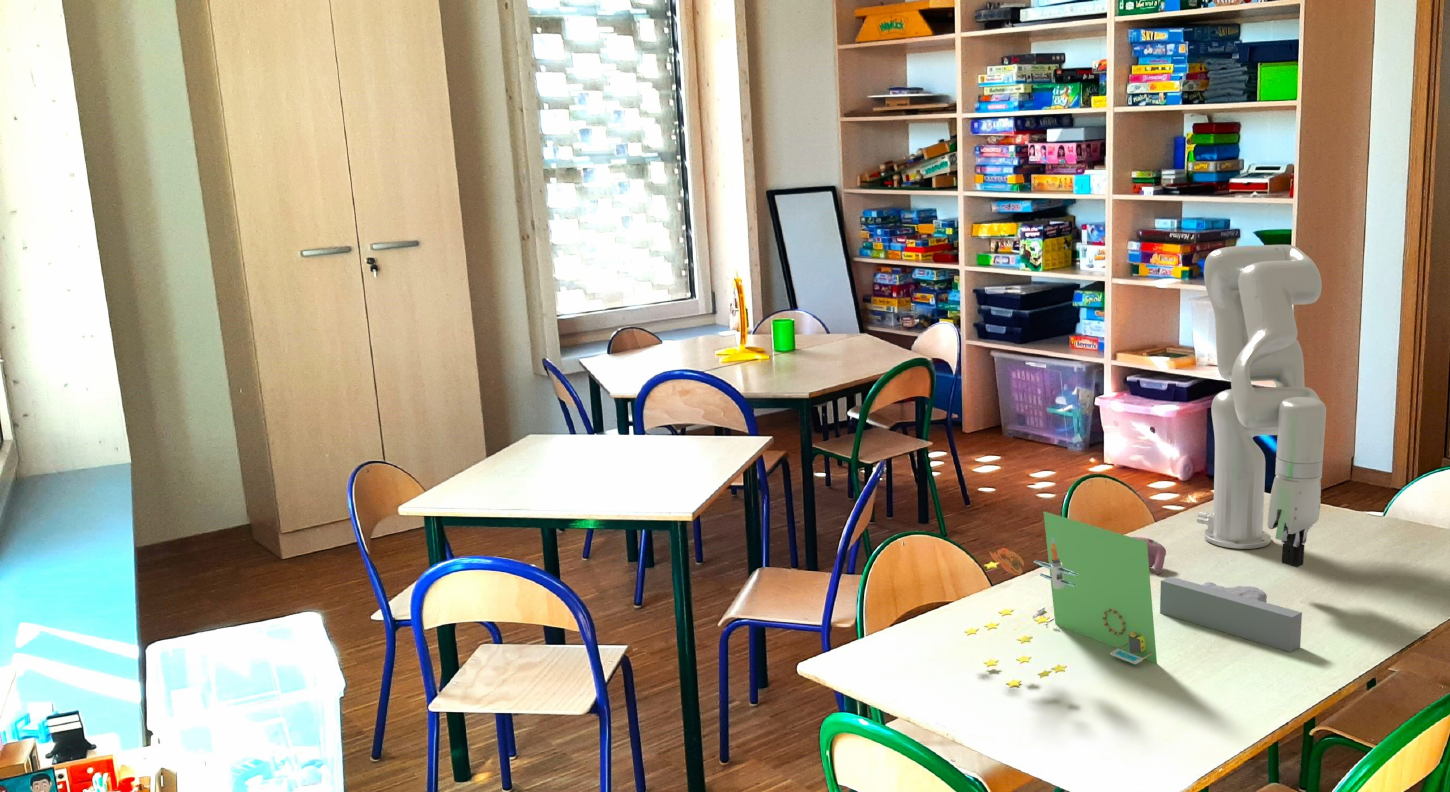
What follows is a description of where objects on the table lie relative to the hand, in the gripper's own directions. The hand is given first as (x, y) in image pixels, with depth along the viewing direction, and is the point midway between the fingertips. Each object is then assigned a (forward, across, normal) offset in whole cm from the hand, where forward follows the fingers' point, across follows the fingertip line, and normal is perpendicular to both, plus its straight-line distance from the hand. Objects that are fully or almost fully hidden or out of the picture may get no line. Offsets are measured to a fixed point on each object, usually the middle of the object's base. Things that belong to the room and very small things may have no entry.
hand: (1292, 563), depth 227 cm
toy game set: (+5, +54, -11) cm, 55 cm away
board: (+5, +23, +1) cm, 23 cm away
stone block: (+6, +16, -3) cm, 17 cm away
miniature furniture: (+6, +32, -23) cm, 40 cm away
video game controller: (+7, +7, -27) cm, 29 cm away
